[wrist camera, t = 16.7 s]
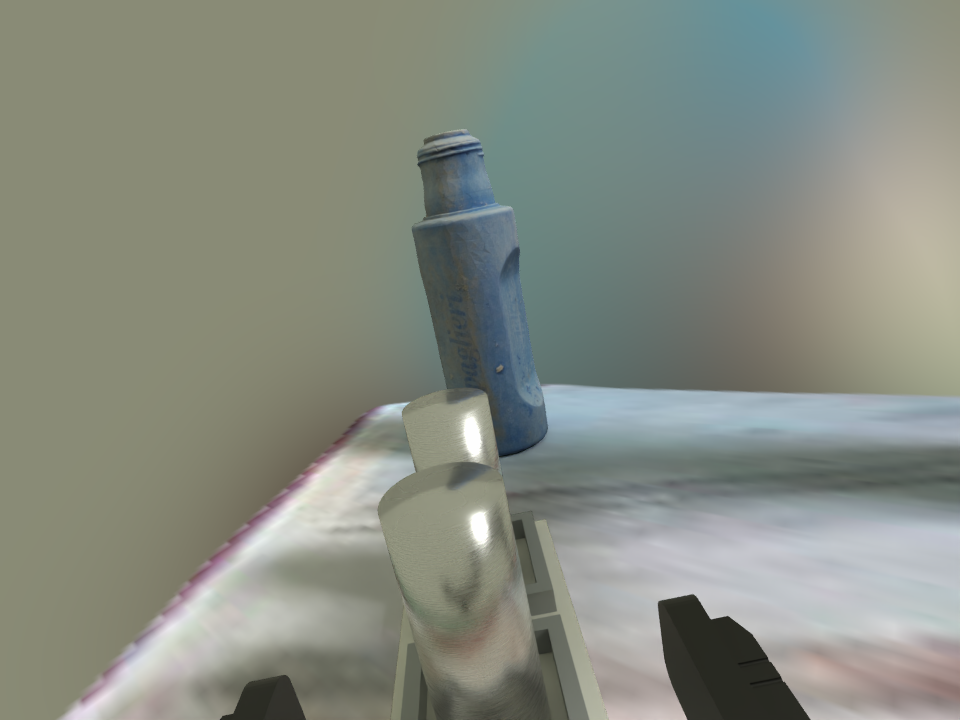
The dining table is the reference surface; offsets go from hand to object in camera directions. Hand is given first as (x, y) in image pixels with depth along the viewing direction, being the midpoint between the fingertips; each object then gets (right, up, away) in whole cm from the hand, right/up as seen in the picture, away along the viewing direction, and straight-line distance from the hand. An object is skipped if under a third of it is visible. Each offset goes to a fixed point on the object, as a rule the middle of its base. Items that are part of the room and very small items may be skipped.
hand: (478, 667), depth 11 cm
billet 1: (0, -7, +23) cm, 24 cm away
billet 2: (+1, -10, +13) cm, 16 cm away
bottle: (+3, -2, +45) cm, 45 cm away
